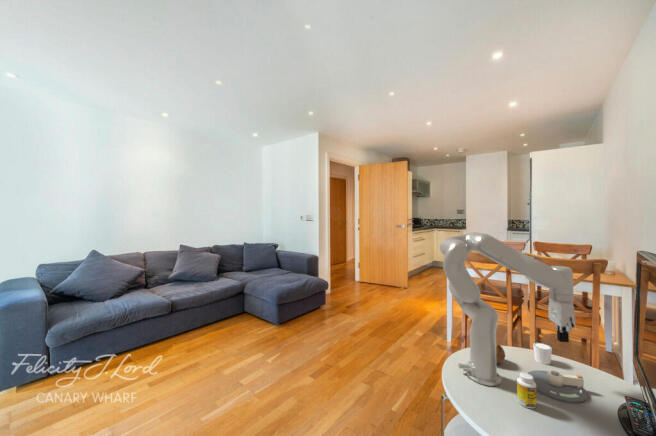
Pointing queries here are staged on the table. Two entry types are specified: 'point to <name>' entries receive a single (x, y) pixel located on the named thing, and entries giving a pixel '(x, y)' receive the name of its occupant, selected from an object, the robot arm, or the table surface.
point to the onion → (499, 354)
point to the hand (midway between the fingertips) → (563, 341)
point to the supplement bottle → (526, 390)
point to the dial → (558, 389)
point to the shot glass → (542, 353)
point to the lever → (564, 379)
